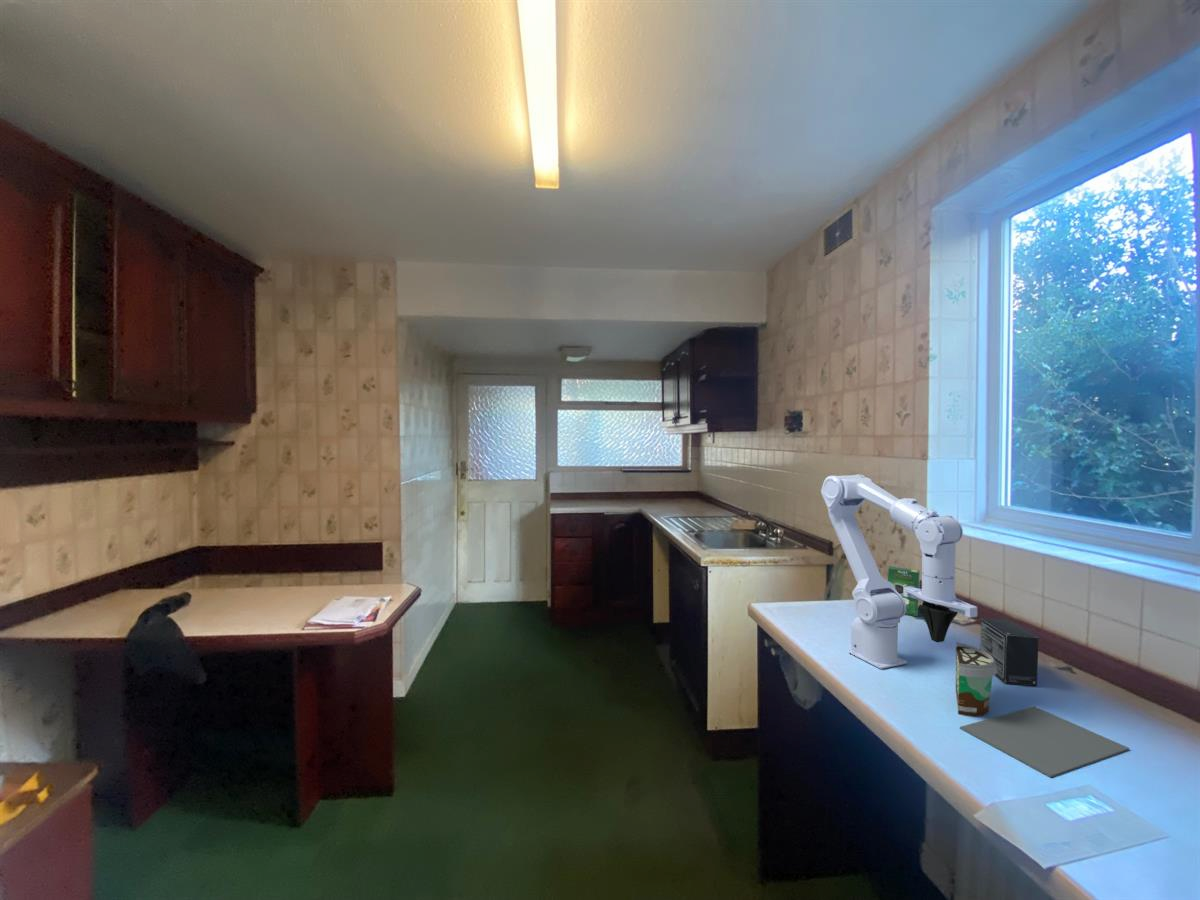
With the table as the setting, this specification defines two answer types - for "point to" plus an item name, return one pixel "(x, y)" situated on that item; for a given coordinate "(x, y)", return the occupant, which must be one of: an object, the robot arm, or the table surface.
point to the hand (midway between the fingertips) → (937, 640)
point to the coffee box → (905, 579)
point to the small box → (1011, 651)
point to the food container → (973, 680)
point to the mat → (1044, 740)
